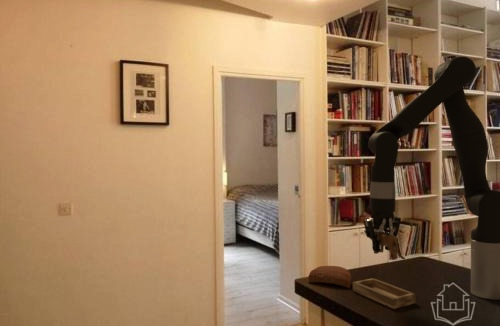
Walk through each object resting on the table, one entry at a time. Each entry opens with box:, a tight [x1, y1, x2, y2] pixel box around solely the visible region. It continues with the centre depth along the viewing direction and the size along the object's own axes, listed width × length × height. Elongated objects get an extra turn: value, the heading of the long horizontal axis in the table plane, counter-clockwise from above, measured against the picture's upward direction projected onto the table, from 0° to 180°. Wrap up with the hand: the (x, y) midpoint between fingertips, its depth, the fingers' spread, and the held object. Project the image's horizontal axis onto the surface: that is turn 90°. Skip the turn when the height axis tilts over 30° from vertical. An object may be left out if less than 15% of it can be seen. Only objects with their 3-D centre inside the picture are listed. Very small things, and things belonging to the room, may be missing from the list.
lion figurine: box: [363, 228, 406, 261], centre depth 120 cm, size 15×5×9 cm, turn 29°
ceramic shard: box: [307, 265, 352, 289], centre depth 139 cm, size 15×6×15 cm
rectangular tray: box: [352, 277, 416, 310], centre depth 121 cm, size 9×17×3 cm, turn 27°
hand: (382, 250), depth 121 cm, fingers closed on lion figurine, 4 cm apart
